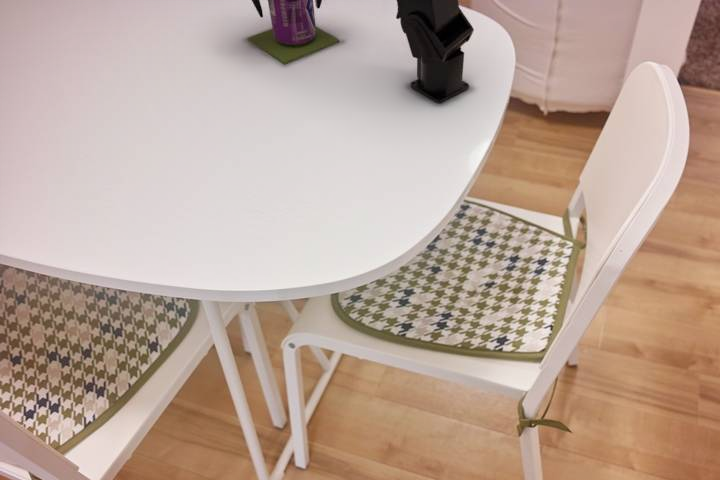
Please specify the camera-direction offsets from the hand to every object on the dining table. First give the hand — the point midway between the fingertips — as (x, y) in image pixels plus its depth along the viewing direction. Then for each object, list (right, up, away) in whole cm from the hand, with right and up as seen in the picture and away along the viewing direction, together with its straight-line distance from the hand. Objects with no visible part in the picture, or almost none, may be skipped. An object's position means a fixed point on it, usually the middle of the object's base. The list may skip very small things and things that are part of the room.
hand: (289, 11), depth 99 cm
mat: (0, -3, +4) cm, 5 cm away
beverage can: (0, -3, +4) cm, 5 cm away
